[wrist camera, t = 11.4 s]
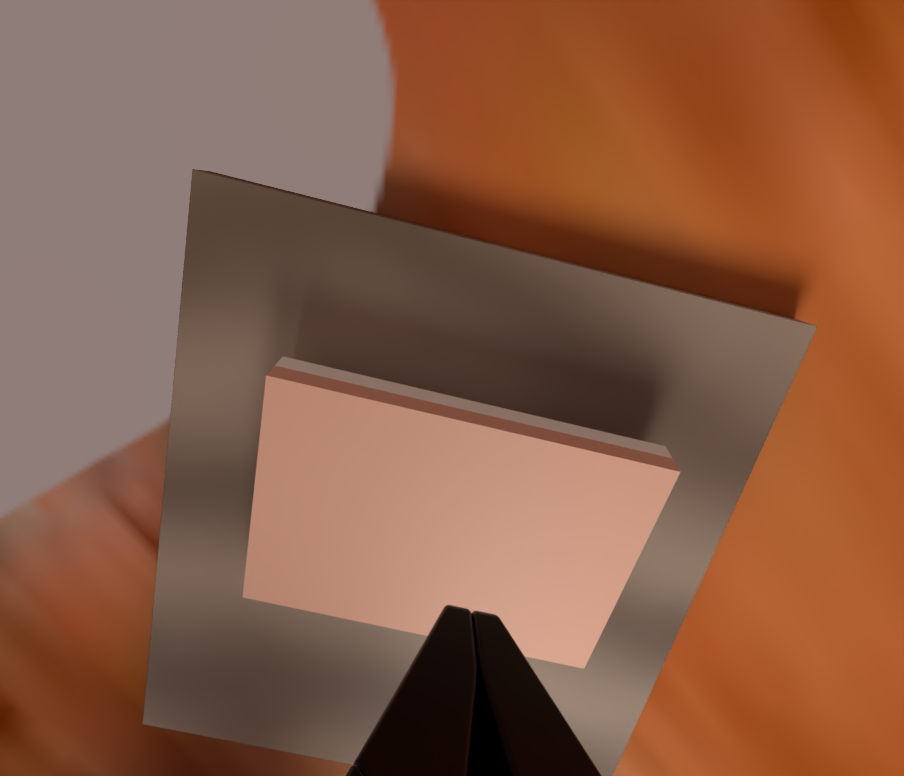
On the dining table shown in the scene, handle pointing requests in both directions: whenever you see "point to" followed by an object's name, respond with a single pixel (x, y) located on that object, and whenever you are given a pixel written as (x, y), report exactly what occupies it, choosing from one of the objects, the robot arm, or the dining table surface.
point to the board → (447, 372)
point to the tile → (445, 510)
